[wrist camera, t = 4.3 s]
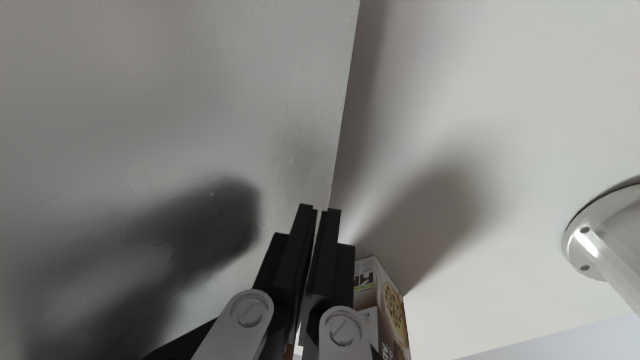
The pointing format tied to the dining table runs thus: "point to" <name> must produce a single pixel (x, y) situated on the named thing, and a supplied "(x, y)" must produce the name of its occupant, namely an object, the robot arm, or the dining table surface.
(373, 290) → the coffee box
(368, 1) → the dining table surface
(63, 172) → the lid
